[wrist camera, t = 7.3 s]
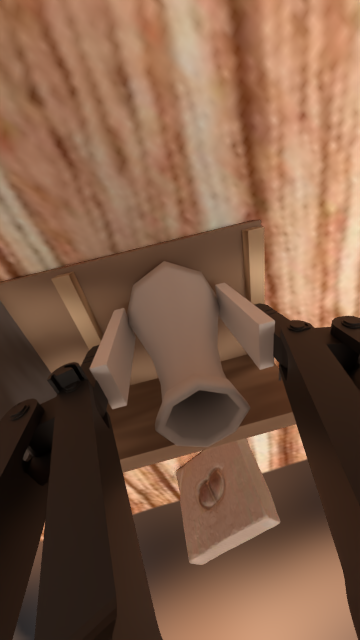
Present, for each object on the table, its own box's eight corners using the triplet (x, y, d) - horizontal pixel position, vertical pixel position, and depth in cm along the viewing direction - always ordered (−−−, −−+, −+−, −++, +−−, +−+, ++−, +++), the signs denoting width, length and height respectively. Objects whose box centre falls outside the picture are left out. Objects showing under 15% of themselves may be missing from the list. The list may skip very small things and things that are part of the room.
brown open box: (-19, 286, 15) (-287, 383, 6) (253, 220, 15) (401, 212, 6) (67, 405, 21) (6, 539, 12) (257, 355, 22) (333, 447, 13)
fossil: (230, 427, 27) (267, 518, 19) (245, 435, 29) (285, 523, 20) (175, 470, 30) (184, 565, 22) (190, 475, 32) (205, 567, 23)
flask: (182, 358, 18) (214, 490, 9) (109, 321, 15) (52, 455, 6) (233, 296, 16) (342, 387, 7) (160, 241, 13) (180, 273, 4)
